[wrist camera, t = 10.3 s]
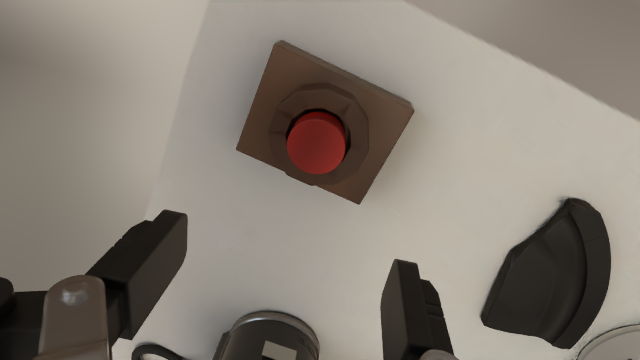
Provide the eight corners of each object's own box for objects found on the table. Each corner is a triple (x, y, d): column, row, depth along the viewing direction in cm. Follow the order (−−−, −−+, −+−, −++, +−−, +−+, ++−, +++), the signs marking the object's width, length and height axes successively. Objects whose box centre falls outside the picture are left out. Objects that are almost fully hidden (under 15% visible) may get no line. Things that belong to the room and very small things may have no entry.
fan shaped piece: (648, 212, 28) (663, 224, 27) (564, 336, 34) (573, 351, 33) (539, 190, 28) (549, 201, 27) (475, 318, 34) (480, 332, 33)
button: (355, 126, 24) (355, 135, 22) (332, 171, 25) (330, 183, 24) (304, 101, 23) (300, 109, 22) (283, 149, 25) (278, 159, 23)
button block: (410, 102, 26) (418, 118, 23) (359, 191, 30) (359, 218, 26) (281, 39, 25) (267, 46, 22) (243, 139, 29) (227, 159, 25)
